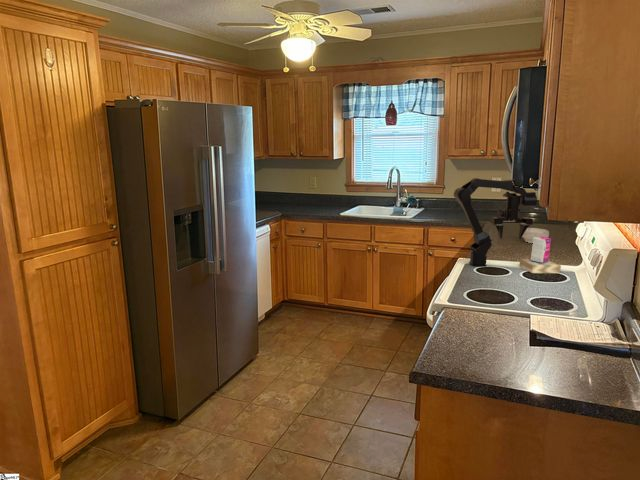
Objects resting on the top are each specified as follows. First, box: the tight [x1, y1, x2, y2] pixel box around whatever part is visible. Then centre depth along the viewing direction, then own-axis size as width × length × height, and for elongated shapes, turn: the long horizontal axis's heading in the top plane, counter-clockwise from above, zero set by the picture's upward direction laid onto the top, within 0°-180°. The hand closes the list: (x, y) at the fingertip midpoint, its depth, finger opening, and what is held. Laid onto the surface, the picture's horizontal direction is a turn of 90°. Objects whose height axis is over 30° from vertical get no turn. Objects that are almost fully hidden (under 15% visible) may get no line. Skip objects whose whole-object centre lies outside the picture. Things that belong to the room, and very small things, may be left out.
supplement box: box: [530, 237, 552, 264], centre depth 224 cm, size 6×6×12 cm
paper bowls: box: [521, 227, 550, 244], centre depth 293 cm, size 15×15×8 cm
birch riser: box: [519, 258, 562, 274], centre depth 226 cm, size 13×13×4 cm
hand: (510, 238), depth 232 cm, fingers open, 9 cm apart
